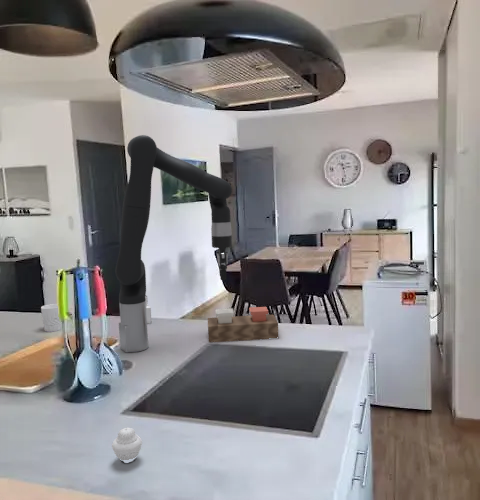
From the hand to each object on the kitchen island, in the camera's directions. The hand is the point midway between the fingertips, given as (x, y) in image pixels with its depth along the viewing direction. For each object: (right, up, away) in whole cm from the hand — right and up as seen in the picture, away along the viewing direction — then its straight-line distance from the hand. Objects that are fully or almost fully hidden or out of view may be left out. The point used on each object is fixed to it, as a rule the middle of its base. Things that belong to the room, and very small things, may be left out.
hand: (223, 277), depth 180 cm
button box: (+7, -22, +3) cm, 24 cm away
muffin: (-17, -34, -78) cm, 87 cm away
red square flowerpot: (+14, -18, +3) cm, 23 cm away
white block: (+1, -18, +2) cm, 19 cm away
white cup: (-72, -23, +20) cm, 78 cm away
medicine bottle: (-36, -21, +26) cm, 49 cm away
